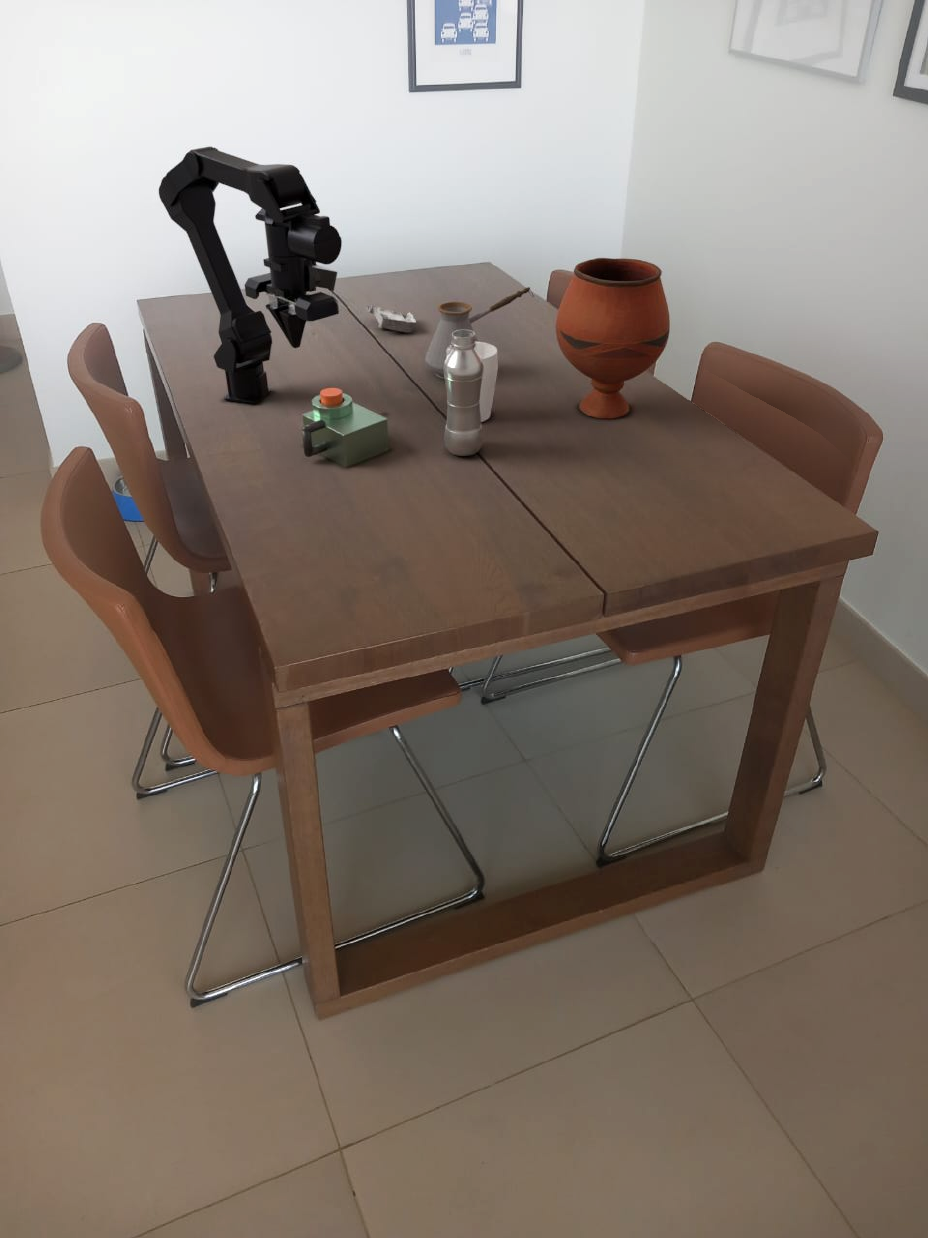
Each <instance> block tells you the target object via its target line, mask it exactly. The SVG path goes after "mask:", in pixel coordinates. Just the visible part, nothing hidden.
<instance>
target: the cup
mask: <svg viewBox="0 0 928 1238" xmlns="http://www.w3.org/2000/svg"><path fill="white" fill-rule="evenodd" d="M452 349H453V347H452V346H451V345H450V346H449V347H448V348H447V350H446V358H447V356H448V355H449V353H450V352H451V351H452ZM474 349H475V350H476V352H477V353H478V354H479V356H480V358H481V359H482V362H483V366H484V368H483V377H482V383H481V391H480V416H481V423H483V422H486V421H487V420H489V418H491V413H492V407H493V401H494V396H495V389H496V383H497V378H498V377H497V376H498V370H499V361H498V360H499V359H498V348H497V347H496V346H494V345H493V344H491V343H489V342H483V341H478V342H477V341H476V346H475V347H474Z"/></svg>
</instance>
